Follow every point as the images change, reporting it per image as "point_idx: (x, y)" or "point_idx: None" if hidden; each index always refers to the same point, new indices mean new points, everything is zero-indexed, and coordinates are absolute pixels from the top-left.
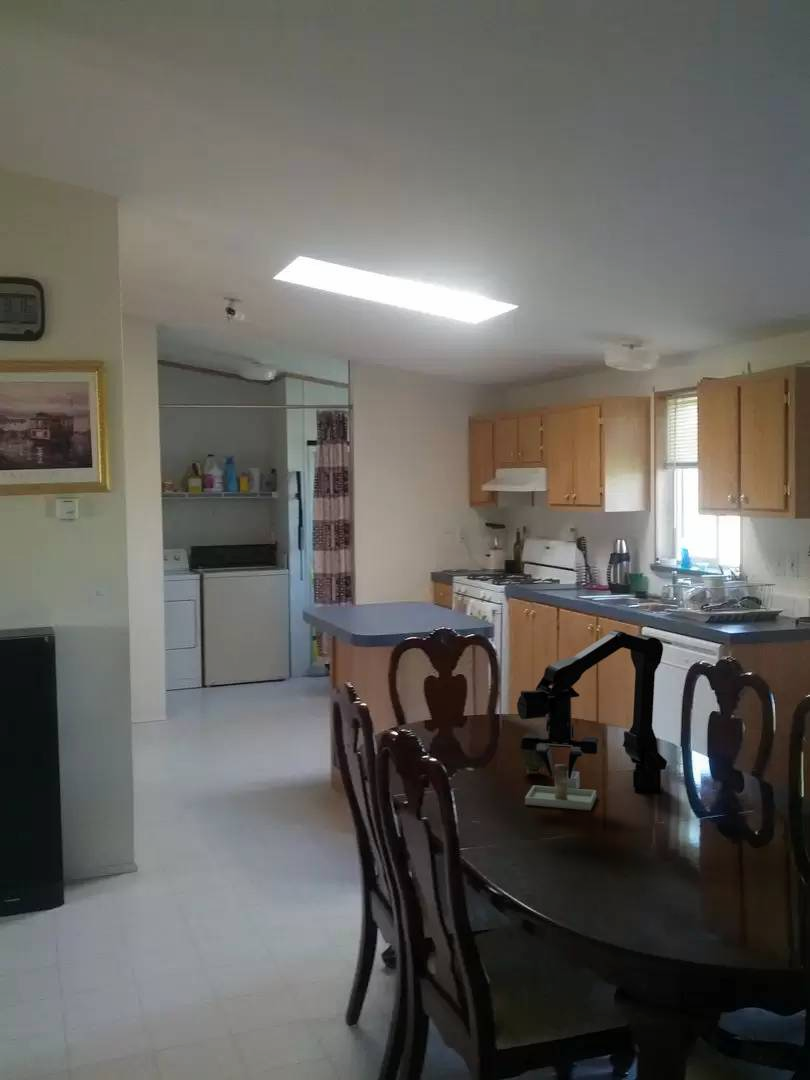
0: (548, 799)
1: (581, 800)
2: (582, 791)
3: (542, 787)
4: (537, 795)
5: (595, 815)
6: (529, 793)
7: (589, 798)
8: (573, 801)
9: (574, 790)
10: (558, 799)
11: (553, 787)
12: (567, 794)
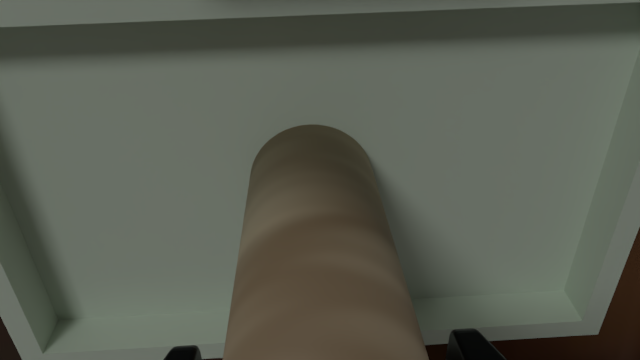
0: None
1: (511, 171)
2: (546, 1)
3: (6, 22)
4: (50, 161)
5: (592, 352)
6: (2, 281)
7: (598, 97)
8: None
9: (445, 4)
10: None
11: (157, 11)
12: (353, 35)
